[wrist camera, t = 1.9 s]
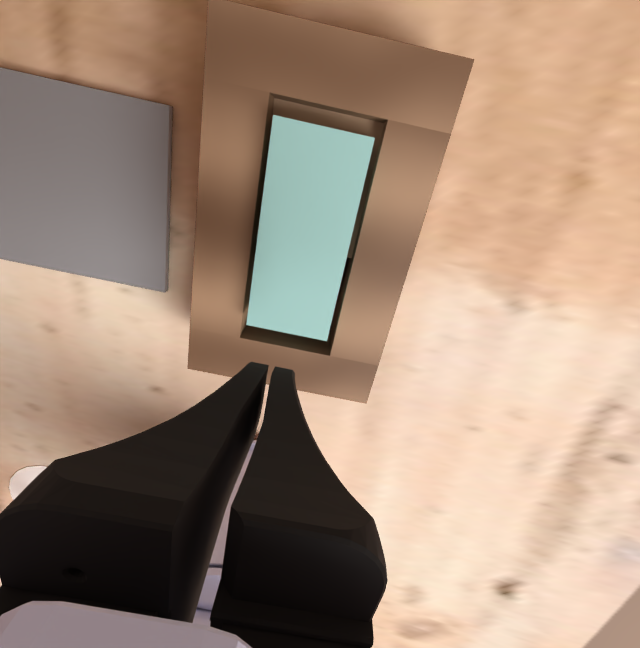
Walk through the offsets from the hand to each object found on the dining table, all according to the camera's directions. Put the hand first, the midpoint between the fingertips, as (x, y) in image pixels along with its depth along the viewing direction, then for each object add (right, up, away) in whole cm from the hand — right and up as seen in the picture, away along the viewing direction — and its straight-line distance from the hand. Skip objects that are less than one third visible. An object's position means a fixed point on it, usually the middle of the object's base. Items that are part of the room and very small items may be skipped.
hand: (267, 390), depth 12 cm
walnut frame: (+1, +7, +8) cm, 11 cm away
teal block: (+1, +7, +5) cm, 8 cm away
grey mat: (-12, +10, +8) cm, 17 cm away
